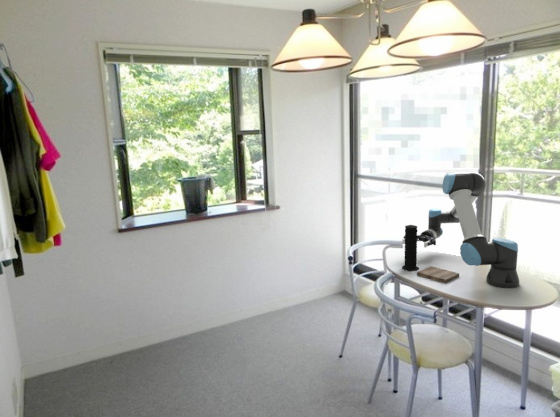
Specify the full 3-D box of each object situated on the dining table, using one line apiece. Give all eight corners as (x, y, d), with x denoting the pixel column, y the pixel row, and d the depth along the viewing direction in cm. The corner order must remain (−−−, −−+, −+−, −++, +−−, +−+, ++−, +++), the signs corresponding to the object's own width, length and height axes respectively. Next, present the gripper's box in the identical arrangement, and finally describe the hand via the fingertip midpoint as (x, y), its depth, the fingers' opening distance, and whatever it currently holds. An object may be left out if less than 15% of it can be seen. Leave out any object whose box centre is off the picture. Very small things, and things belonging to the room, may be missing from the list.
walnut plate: (459, 276, 219) (459, 273, 219) (445, 283, 211) (445, 279, 211) (431, 269, 233) (431, 266, 232) (417, 275, 224) (417, 271, 224)
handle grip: (421, 271, 231) (417, 265, 241) (422, 226, 226) (418, 222, 236) (403, 271, 232) (400, 265, 242) (404, 226, 227) (400, 223, 237)
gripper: (447, 244, 245) (434, 253, 230) (409, 238, 262) (394, 246, 247) (448, 232, 244) (434, 240, 229) (409, 227, 261) (394, 234, 245)
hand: (413, 243), depth 238 cm, fingers open, 13 cm apart
